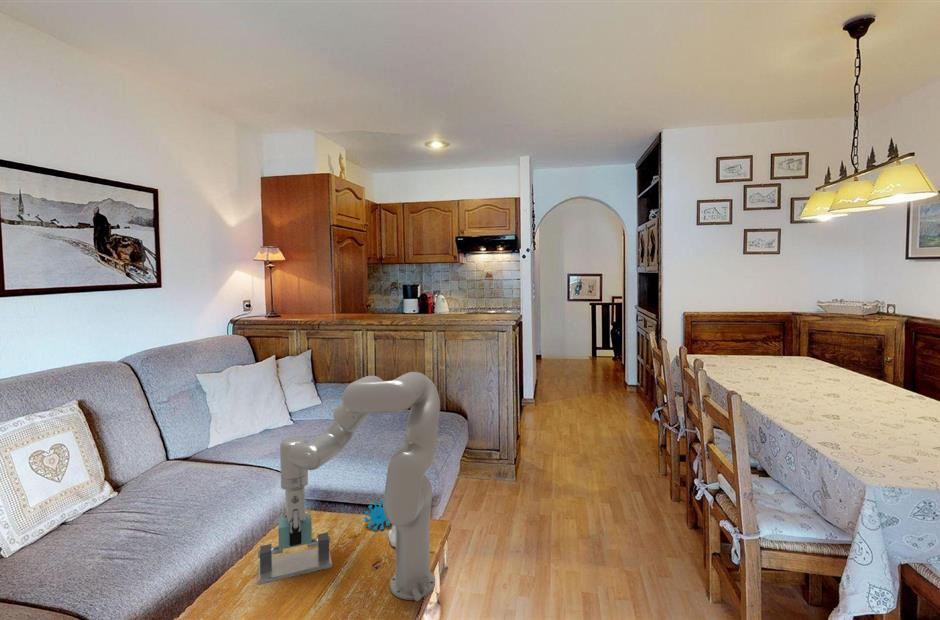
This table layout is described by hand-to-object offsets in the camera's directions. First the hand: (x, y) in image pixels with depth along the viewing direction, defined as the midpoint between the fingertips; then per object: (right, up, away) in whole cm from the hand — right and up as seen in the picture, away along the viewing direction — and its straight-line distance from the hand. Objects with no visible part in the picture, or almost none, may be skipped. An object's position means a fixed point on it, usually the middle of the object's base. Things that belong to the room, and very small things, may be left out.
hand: (295, 538), depth 133 cm
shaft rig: (0, -9, 0) cm, 9 cm away
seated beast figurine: (+29, -8, +13) cm, 33 cm away
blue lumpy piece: (+21, -8, +23) cm, 32 cm away
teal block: (0, -1, 0) cm, 1 cm away
